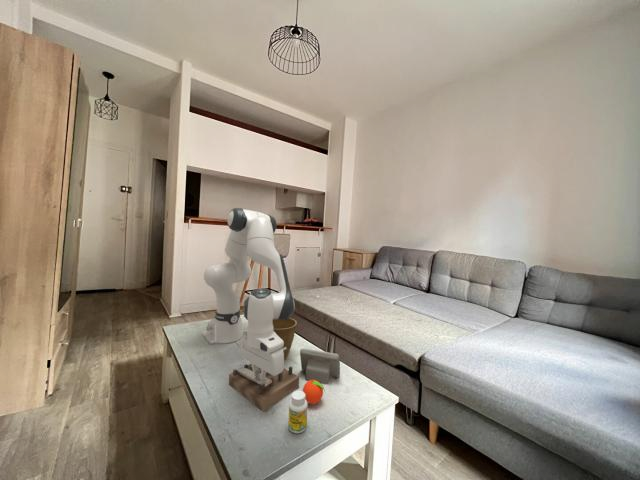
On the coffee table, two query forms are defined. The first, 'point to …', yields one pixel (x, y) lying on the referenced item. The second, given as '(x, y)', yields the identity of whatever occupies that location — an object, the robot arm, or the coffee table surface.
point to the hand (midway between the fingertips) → (259, 377)
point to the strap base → (268, 394)
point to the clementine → (313, 391)
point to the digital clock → (320, 365)
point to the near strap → (250, 375)
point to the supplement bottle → (298, 412)
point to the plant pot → (285, 332)
